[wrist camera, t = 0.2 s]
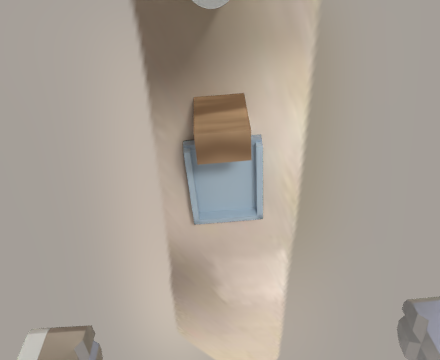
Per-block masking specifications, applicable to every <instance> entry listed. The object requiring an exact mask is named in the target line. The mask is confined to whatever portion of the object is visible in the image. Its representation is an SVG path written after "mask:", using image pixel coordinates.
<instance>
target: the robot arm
mask: <svg viewBox="0 0 440 360" xmlns="http://www.w3.org/2000/svg"><path fill="white" fill-rule="evenodd" d="M402 310H403V312H404V314H405V316H403V317H402V318H401V319H400V320H399V323H398V327H397V331H398V340H399V343H400V347H401V349H402V352H403V354H404V356H405V357H406V358H407V359H408V360H440V297H430V298H419V299H409V300H406V301H405V302H404V304H403V307H402ZM94 336H95V332H94V330H93V328H92V326H76V327H56V328H41V329H32V330H31V331H30V332H29V333H28V334H27V336H26V338H25V341H24V343H23V346H22V348H21V350H20V353H19V355H18V358H17V360H102V359H103V357H102V351H101V348H100V345H99V343H97V342H95V341H94Z"/></svg>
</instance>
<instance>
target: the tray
mask: <svg viewBox="0 0 440 360" xmlns="http://www.w3.org/2000/svg"><path fill="white" fill-rule="evenodd" d="M183 147H184V159H185V166H186V172H187V179H188V185H189V192H190V198H191V205H192V211H193V218H194V224H207V223H219V222H231V221H244V220H256V219H263V145H262V138H261V135H251V158H252V160H249V161H237V162H225V163H213V164H200V165H198V164H197V157H196V149H195V141H194V140H191V141H183Z"/></svg>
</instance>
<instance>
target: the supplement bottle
mask: <svg viewBox="0 0 440 360" xmlns="http://www.w3.org/2000/svg"><path fill="white" fill-rule="evenodd" d="M192 1H193V2H194V3H195V4H197V5H198V6H200V7H202V8H206V9H216V8H219V7H221V6H223V5H225V4H226V3H227V2H228V1H229V0H192Z"/></svg>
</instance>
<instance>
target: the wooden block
mask: <svg viewBox="0 0 440 360" xmlns="http://www.w3.org/2000/svg"><path fill="white" fill-rule="evenodd" d="M194 141H195V149H196V157H197V164H198V165H200V164H213V163H225V162H237V161H249V160H252V158H251V128H250V123H249V117H248V112H247V107H246V102H245V97H244V93H241V94H229V95H217V96H205V97H194Z"/></svg>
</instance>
